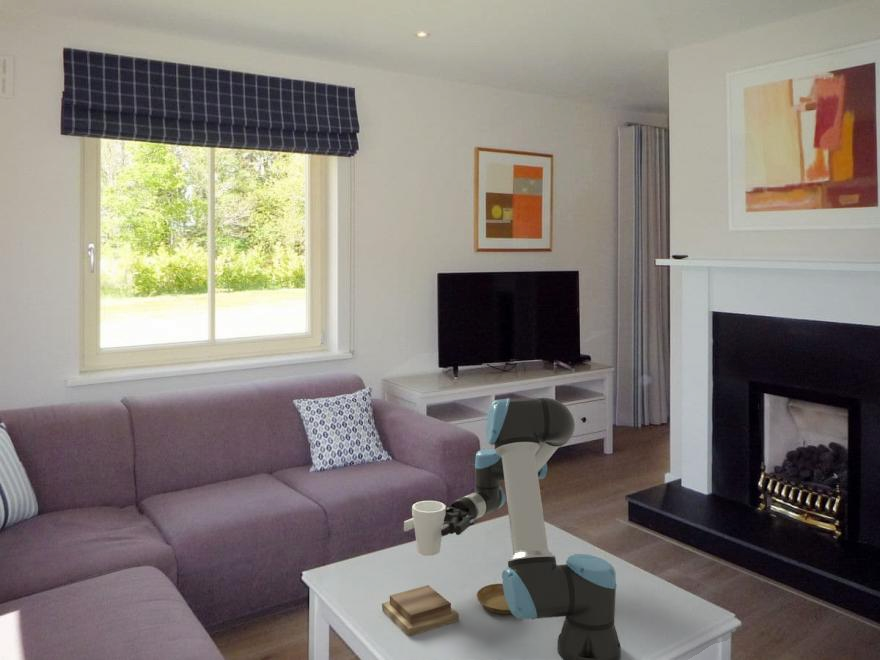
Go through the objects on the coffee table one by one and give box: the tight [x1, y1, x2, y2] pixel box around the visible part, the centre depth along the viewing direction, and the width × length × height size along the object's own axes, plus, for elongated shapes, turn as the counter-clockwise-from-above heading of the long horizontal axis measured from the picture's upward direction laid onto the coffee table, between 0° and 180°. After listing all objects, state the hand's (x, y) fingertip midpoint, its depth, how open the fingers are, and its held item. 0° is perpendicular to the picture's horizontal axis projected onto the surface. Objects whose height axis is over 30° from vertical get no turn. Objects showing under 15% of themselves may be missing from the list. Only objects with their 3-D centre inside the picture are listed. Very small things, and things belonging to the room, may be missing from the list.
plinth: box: [381, 584, 460, 637], centre depth 194 cm, size 15×15×4 cm
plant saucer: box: [476, 583, 512, 615], centre depth 200 cm, size 15×15×3 cm
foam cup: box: [411, 500, 447, 556], centre depth 204 cm, size 10×9×13 cm
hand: (418, 531), depth 201 cm, fingers closed on foam cup, 9 cm apart
